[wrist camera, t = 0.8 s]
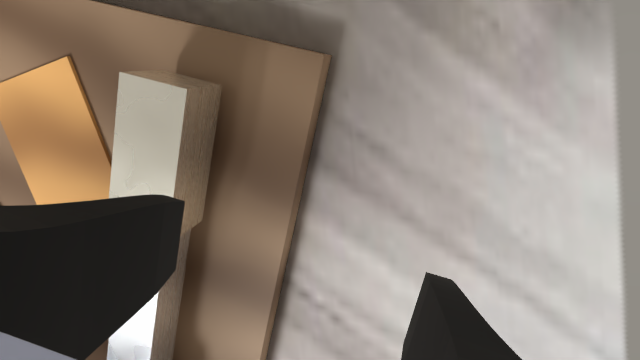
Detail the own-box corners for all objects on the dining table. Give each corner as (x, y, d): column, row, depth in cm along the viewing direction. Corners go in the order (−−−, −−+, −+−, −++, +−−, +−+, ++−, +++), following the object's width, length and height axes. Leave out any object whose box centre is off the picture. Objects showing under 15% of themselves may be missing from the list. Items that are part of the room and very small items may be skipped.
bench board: (251, 425, 25) (239, 450, 23) (-107, 294, 29) (-138, 308, 27) (331, 55, 19) (323, 54, 18) (-131, -52, 23) (-173, -61, 21)
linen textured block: (179, 431, 23) (139, 492, 20) (117, 408, 24) (68, 463, 21) (233, 87, 18) (191, 93, 15) (152, 67, 19) (95, 69, 15)
